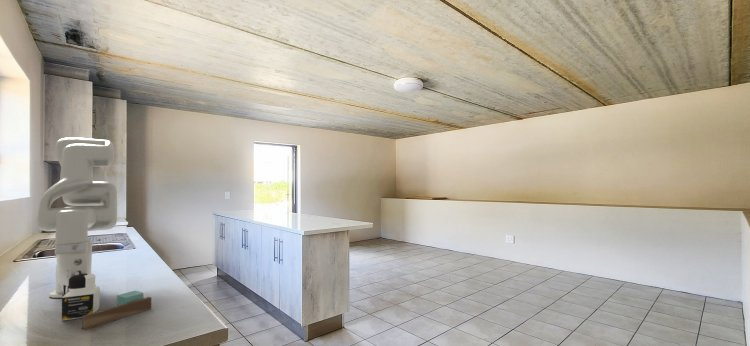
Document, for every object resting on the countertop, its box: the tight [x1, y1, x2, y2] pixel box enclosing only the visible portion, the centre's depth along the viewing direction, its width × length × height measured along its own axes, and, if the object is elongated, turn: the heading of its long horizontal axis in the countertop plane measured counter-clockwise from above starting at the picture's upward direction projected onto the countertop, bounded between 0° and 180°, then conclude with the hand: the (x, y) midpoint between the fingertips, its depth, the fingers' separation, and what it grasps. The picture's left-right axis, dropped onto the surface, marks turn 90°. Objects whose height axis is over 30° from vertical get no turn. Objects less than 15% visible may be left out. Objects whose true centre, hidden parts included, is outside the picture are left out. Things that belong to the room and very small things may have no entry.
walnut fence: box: [81, 296, 152, 331], centre depth 96 cm, size 2×17×4 cm, turn 153°
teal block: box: [116, 290, 144, 306], centre depth 102 cm, size 5×5×5 cm
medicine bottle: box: [61, 273, 101, 322], centre depth 99 cm, size 7×7×12 cm
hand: (69, 306), depth 102 cm, fingers closed
